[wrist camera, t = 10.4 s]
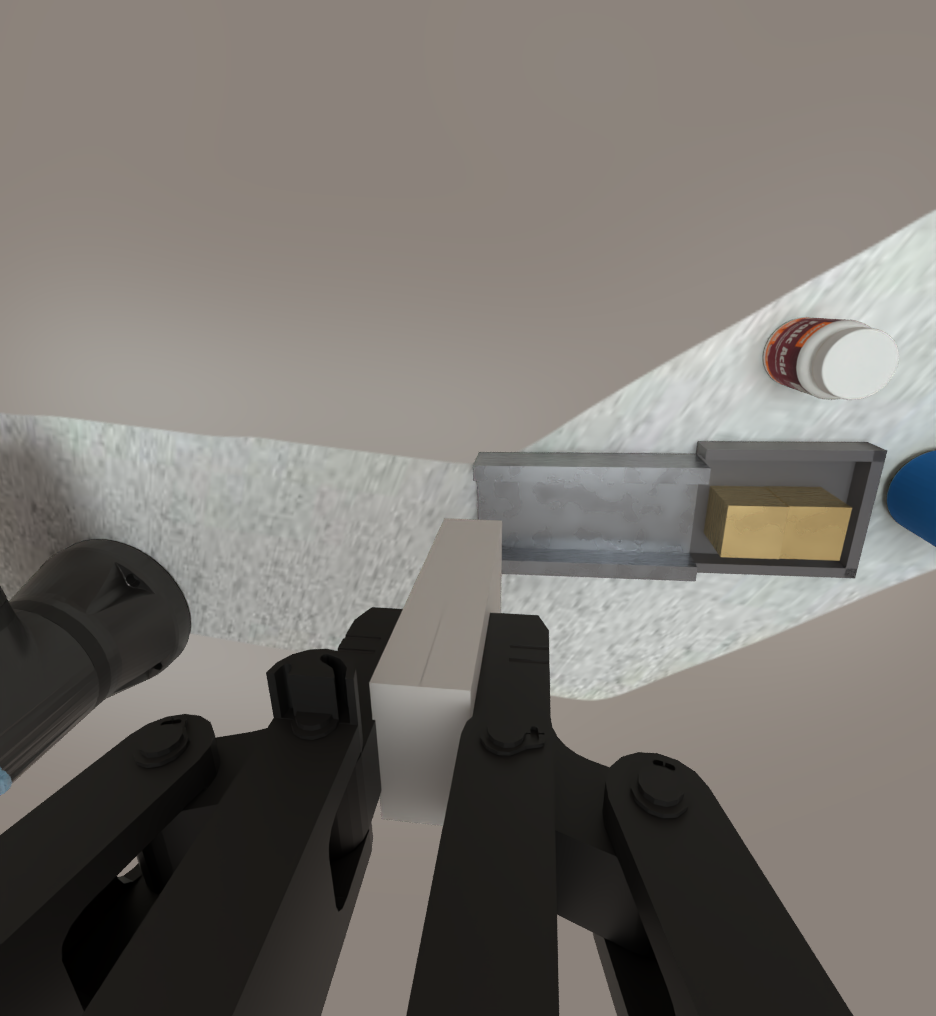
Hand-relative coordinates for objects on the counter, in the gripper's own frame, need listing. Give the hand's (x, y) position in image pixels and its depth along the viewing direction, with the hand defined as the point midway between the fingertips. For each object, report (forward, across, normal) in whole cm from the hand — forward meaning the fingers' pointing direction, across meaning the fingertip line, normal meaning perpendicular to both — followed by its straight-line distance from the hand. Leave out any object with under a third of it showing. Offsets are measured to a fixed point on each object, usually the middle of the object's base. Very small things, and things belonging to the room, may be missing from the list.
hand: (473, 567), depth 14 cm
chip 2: (+29, +21, -9) cm, 37 cm away
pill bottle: (+30, +20, +3) cm, 36 cm away
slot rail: (+30, +5, -9) cm, 32 cm away
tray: (+30, +20, -8) cm, 37 cm away
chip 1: (+29, +17, -9) cm, 35 cm away
